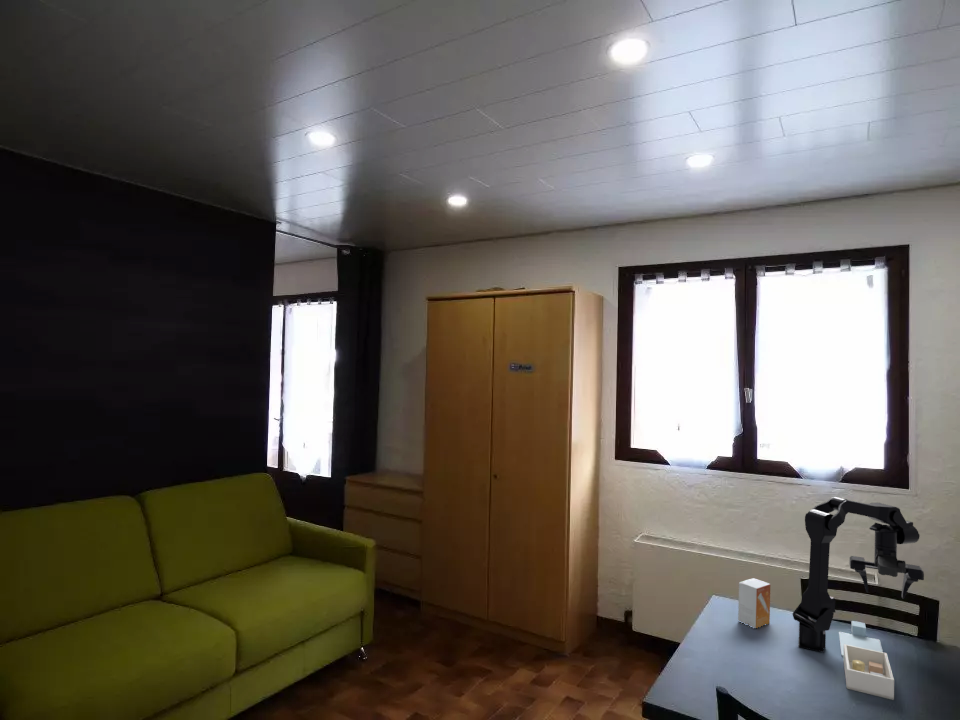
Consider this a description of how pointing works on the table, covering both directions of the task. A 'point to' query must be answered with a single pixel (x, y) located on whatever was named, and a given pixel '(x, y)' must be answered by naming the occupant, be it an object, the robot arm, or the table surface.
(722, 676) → the table surface
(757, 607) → the small box
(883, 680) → the tub
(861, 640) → the lid
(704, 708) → the table surface
